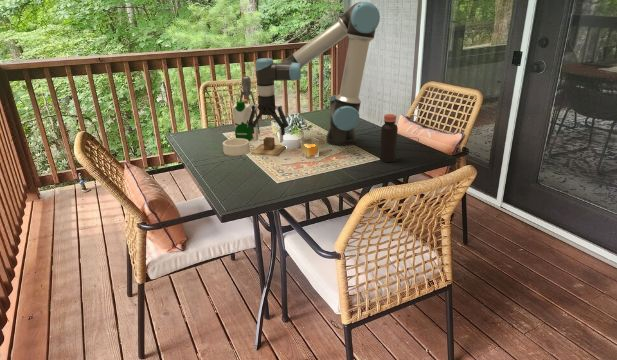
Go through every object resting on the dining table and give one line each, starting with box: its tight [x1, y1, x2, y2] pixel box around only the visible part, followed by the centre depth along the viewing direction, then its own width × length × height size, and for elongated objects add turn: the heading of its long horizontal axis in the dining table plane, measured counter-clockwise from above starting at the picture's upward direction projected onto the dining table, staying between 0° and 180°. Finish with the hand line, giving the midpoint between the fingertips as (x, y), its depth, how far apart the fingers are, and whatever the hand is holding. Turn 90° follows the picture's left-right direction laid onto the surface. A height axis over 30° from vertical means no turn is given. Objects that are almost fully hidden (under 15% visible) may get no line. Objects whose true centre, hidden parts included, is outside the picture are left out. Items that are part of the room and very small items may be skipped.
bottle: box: [379, 113, 399, 163], centre depth 179 cm, size 7×7×20 cm
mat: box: [248, 149, 288, 158], centre depth 196 cm, size 15×15×1 cm
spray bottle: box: [239, 75, 261, 135], centre depth 222 cm, size 10×11×30 cm
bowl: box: [222, 137, 251, 157], centre depth 195 cm, size 12×12×5 cm
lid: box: [250, 136, 286, 157], centre depth 195 cm, size 13×13×6 cm
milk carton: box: [232, 100, 254, 142], centre depth 210 cm, size 9×9×20 cm
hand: (268, 141), depth 194 cm, fingers open, 12 cm apart
